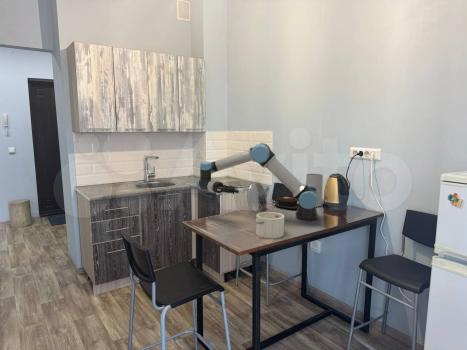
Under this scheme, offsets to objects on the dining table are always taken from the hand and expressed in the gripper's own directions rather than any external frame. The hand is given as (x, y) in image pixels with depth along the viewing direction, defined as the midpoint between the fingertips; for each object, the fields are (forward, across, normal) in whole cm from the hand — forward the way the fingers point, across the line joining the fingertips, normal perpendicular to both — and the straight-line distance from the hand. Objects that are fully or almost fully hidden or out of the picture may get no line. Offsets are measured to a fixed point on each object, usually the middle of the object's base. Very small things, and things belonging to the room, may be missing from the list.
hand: (243, 192), depth 208 cm
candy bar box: (-16, -39, -22) cm, 48 cm away
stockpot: (+20, 0, -22) cm, 30 cm away
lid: (+11, 0, -2) cm, 11 cm away
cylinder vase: (+7, -80, -22) cm, 83 cm away
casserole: (-7, -63, -22) cm, 67 cm away
